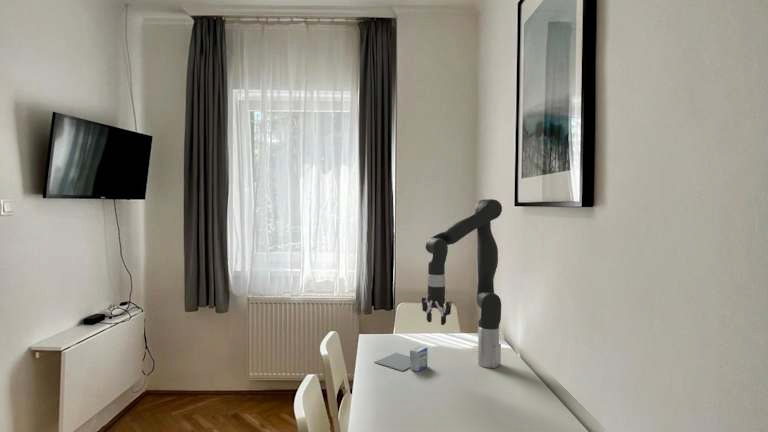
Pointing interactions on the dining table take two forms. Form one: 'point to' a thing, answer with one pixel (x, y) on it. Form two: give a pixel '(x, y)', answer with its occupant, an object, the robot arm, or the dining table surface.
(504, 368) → the dining table surface
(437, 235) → the robot arm
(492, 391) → the dining table surface
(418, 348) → the medicine box
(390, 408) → the dining table surface
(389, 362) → the rubber mat
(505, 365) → the dining table surface
